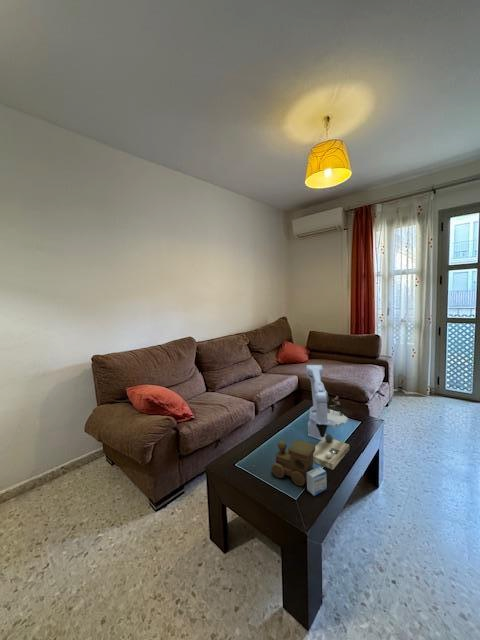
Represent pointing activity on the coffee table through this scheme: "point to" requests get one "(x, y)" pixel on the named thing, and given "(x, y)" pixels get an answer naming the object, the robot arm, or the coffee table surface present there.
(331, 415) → the figurine
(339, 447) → the cream knobbed board
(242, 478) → the coffee table surface
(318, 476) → the medicine box
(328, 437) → the black rubber ball
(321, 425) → the robot arm
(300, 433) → the coffee table surface
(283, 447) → the wooden toy train
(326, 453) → the cream plastic ball
